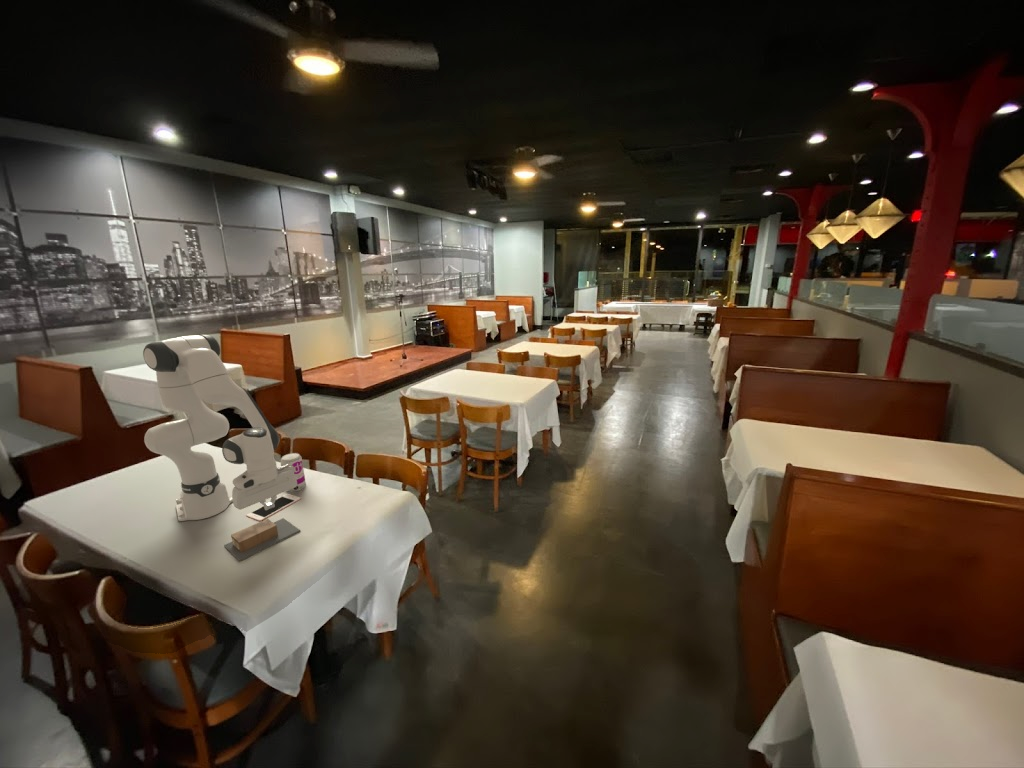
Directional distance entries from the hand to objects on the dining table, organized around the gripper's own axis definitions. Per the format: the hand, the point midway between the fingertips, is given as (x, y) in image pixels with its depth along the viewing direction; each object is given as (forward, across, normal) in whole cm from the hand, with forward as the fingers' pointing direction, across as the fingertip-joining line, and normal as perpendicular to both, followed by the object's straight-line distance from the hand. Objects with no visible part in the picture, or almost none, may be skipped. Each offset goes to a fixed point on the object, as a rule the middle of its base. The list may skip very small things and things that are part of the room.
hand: (269, 508), depth 148 cm
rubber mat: (+10, +4, 0) cm, 11 cm away
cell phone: (+11, -8, -18) cm, 22 cm away
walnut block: (+8, 0, 0) cm, 8 cm away
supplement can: (+10, -21, -27) cm, 36 cm away
